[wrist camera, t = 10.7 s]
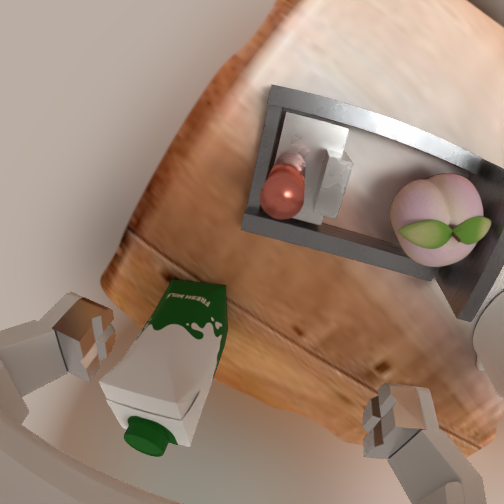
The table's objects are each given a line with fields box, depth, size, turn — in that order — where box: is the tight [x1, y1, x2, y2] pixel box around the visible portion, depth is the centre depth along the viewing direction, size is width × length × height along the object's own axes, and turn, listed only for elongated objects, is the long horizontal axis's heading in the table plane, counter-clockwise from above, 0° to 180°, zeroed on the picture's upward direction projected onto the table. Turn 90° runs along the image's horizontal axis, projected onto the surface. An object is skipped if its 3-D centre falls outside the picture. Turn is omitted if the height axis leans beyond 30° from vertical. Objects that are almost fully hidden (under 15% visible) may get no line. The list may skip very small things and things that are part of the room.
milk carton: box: [99, 279, 228, 457], centre depth 31 cm, size 9×9×20 cm
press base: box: [241, 85, 504, 322], centre depth 26 cm, size 24×14×9 cm, turn 78°
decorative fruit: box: [390, 174, 492, 267], centre depth 25 cm, size 9×8×10 cm
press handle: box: [260, 112, 353, 225], centre depth 25 cm, size 6×10×12 cm, turn 168°
